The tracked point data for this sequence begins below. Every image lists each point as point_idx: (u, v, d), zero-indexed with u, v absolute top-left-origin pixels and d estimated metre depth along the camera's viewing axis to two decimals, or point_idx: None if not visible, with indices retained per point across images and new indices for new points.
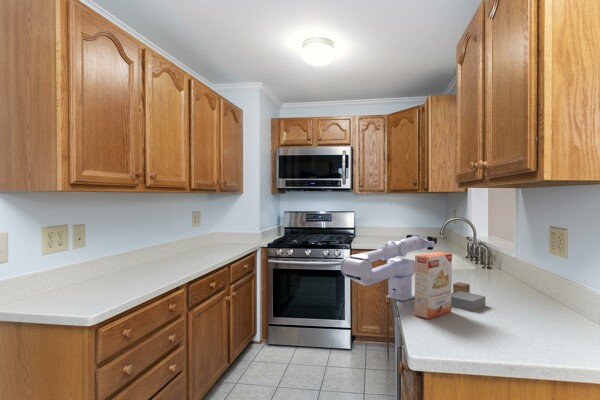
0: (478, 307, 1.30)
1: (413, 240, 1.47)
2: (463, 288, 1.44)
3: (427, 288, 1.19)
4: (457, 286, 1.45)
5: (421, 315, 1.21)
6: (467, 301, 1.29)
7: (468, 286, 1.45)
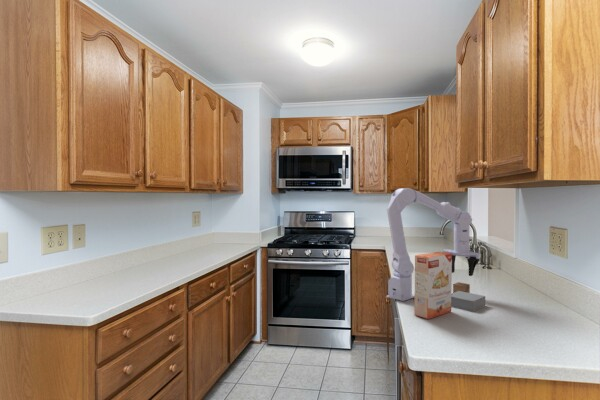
0: (478, 307, 1.30)
1: (468, 239, 1.44)
2: (463, 288, 1.44)
3: (427, 288, 1.19)
4: (457, 286, 1.45)
5: (421, 315, 1.21)
6: (467, 301, 1.29)
7: (468, 286, 1.45)
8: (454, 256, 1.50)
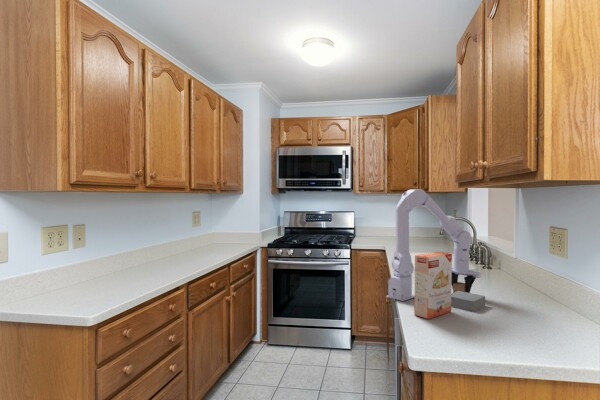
0: (478, 307, 1.30)
1: (468, 258, 1.44)
2: (463, 288, 1.44)
3: (427, 288, 1.19)
4: (457, 286, 1.45)
5: (421, 315, 1.21)
6: (468, 301, 1.28)
7: None
8: (457, 275, 1.49)
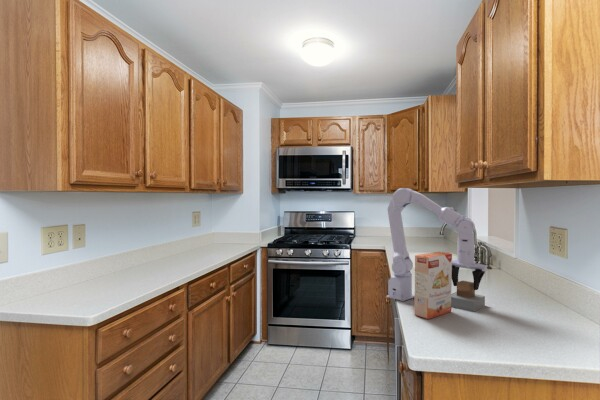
0: (479, 307, 1.30)
1: (471, 250, 1.31)
2: (468, 287, 1.31)
3: (427, 288, 1.19)
4: (461, 285, 1.33)
5: (421, 315, 1.21)
6: (468, 301, 1.28)
7: (473, 285, 1.33)
8: (458, 268, 1.38)
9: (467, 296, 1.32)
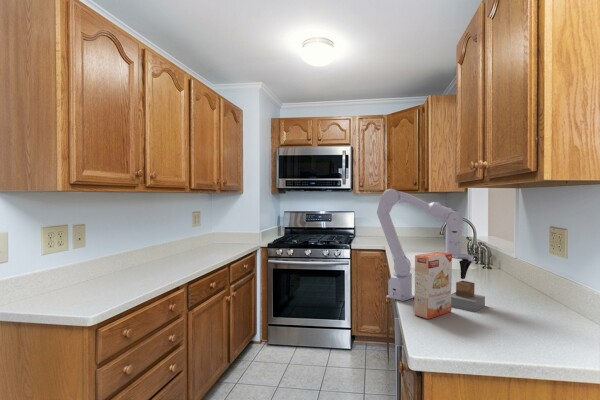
0: (479, 307, 1.30)
1: (459, 241, 1.37)
2: (467, 287, 1.31)
3: (427, 288, 1.19)
4: (460, 285, 1.33)
5: (421, 315, 1.21)
6: (468, 301, 1.28)
7: (473, 285, 1.33)
8: None
9: (466, 296, 1.31)
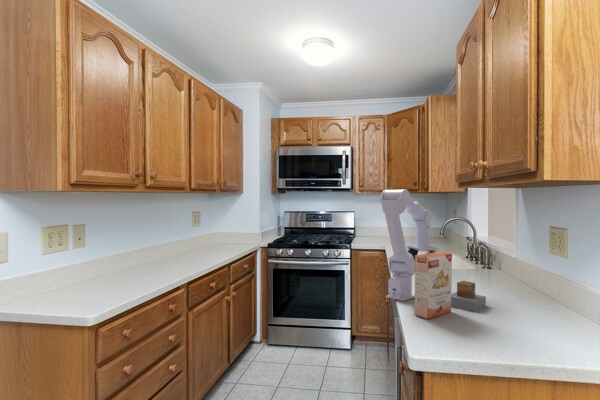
0: (479, 307, 1.30)
1: None
2: (468, 287, 1.31)
3: (427, 288, 1.19)
4: (461, 285, 1.33)
5: (421, 315, 1.21)
6: (469, 302, 1.28)
7: (473, 285, 1.33)
8: (416, 251, 1.63)
9: (467, 296, 1.31)
